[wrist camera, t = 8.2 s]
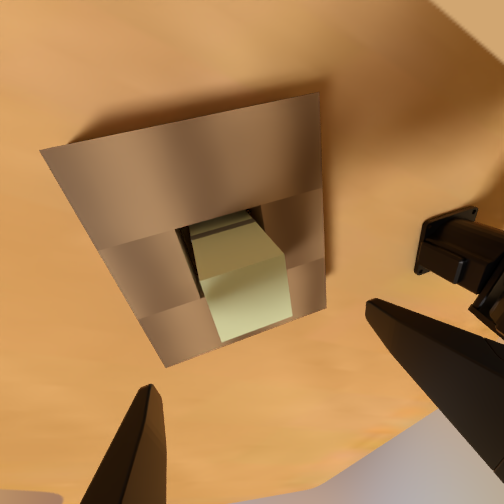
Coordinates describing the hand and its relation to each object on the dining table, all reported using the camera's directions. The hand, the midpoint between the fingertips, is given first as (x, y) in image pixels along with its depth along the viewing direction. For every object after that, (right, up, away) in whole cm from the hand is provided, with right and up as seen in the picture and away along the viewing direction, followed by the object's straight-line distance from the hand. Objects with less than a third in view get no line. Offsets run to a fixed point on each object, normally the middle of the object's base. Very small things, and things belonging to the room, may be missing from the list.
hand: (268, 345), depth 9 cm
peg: (-3, +5, +9) cm, 11 cm away
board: (-3, +5, +9) cm, 11 cm away
